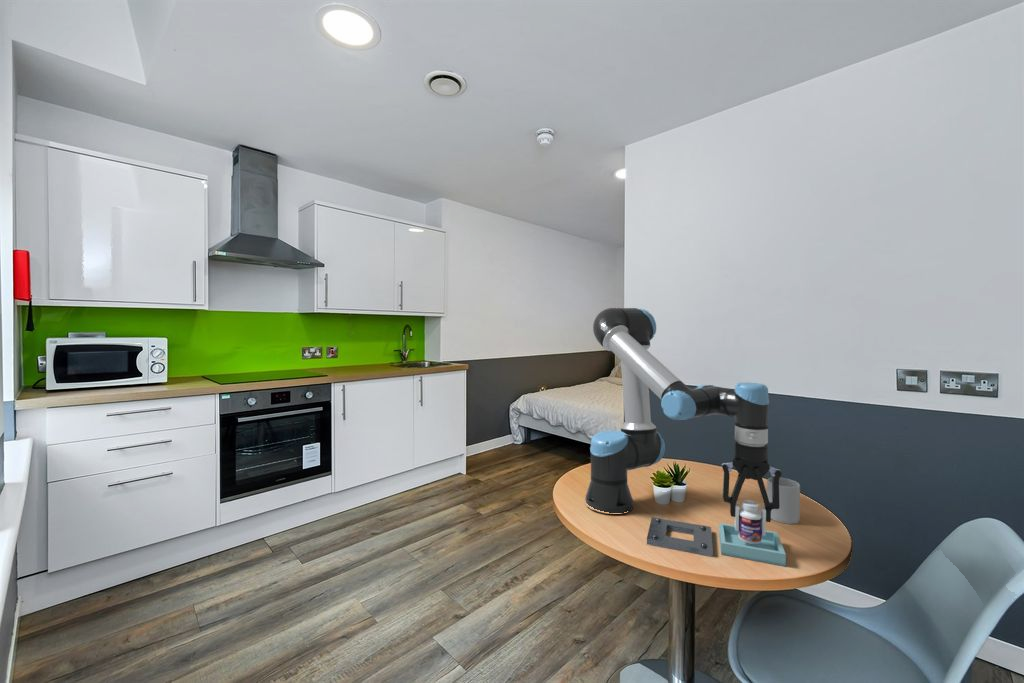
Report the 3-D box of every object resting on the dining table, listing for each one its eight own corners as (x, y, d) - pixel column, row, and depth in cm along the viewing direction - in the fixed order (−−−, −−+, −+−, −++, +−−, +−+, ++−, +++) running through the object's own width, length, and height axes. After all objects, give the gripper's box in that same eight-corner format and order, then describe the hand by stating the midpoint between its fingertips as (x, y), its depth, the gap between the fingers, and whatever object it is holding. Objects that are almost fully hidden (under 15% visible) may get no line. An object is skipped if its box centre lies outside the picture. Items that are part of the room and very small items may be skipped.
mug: (804, 525, 123) (805, 488, 123) (771, 522, 125) (771, 485, 125) (789, 508, 135) (790, 474, 134) (759, 505, 137) (760, 472, 137)
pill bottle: (739, 542, 109) (739, 505, 109) (736, 533, 114) (737, 497, 114) (763, 546, 107) (764, 508, 107) (759, 536, 112) (760, 500, 112)
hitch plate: (646, 544, 113) (646, 536, 113) (651, 521, 126) (651, 515, 126) (712, 556, 107) (712, 549, 107) (711, 532, 120) (711, 525, 120)
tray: (721, 554, 108) (721, 542, 108) (718, 533, 119) (718, 522, 119) (785, 566, 102) (785, 554, 102) (776, 543, 113) (777, 532, 113)
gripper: (712, 442, 110) (711, 530, 111) (796, 450, 103) (794, 544, 103) (711, 435, 117) (710, 518, 118) (789, 442, 109) (788, 531, 110)
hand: (749, 530), depth 111 cm, fingers closed on pill bottle, 5 cm apart
